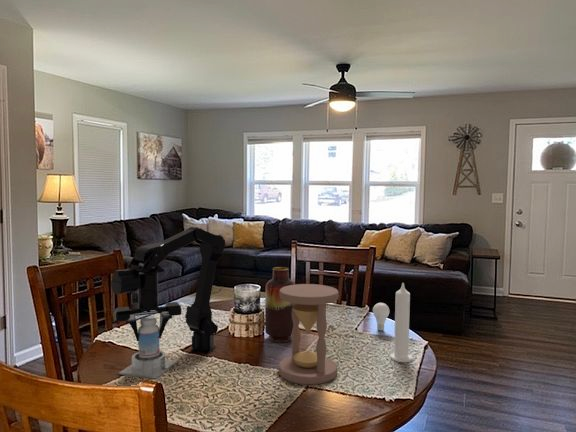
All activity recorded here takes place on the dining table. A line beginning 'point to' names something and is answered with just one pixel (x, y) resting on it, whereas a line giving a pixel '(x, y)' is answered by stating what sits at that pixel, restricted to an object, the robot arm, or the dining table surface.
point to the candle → (401, 326)
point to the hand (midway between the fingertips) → (148, 339)
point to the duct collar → (148, 366)
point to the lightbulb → (380, 314)
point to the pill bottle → (148, 338)
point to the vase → (278, 308)
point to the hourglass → (307, 311)
